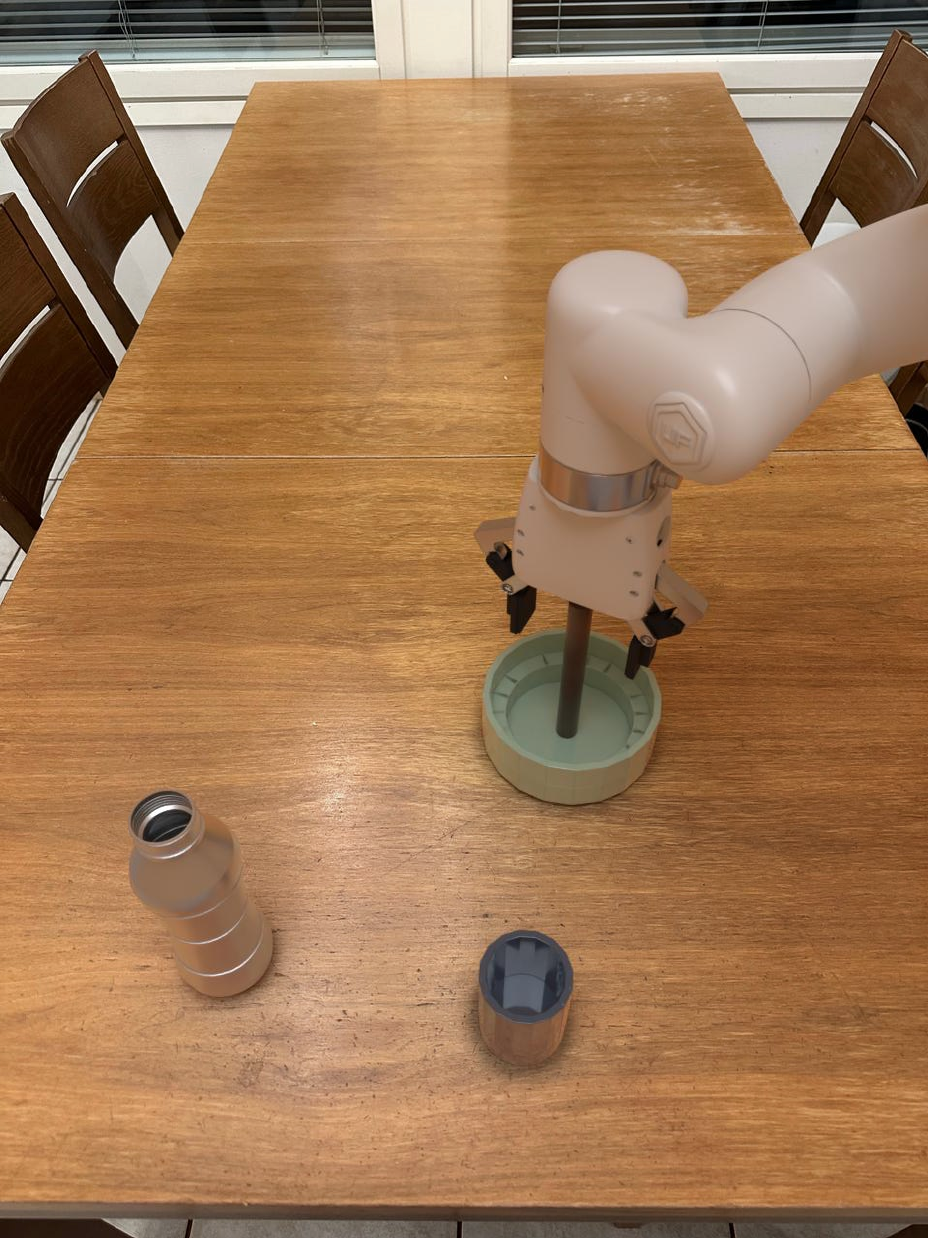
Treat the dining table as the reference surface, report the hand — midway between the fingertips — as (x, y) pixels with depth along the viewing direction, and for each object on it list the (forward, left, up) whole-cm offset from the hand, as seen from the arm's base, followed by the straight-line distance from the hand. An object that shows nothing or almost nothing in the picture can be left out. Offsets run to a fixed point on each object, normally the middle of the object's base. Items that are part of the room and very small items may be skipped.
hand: (578, 642), depth 71 cm
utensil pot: (-7, +23, -12) cm, 27 cm away
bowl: (0, 0, -12) cm, 12 cm away
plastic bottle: (+13, +29, -12) cm, 34 cm away
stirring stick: (0, 0, -11) cm, 11 cm away
